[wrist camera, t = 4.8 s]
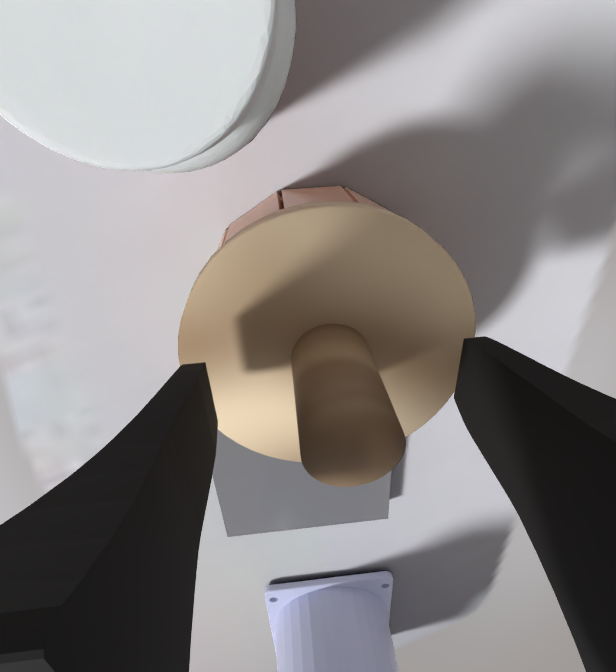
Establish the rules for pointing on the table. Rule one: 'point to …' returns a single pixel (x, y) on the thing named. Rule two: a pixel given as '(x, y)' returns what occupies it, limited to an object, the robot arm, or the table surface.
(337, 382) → the lid
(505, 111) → the table surface
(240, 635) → the table surface
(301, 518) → the coaster
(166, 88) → the pill bottle
